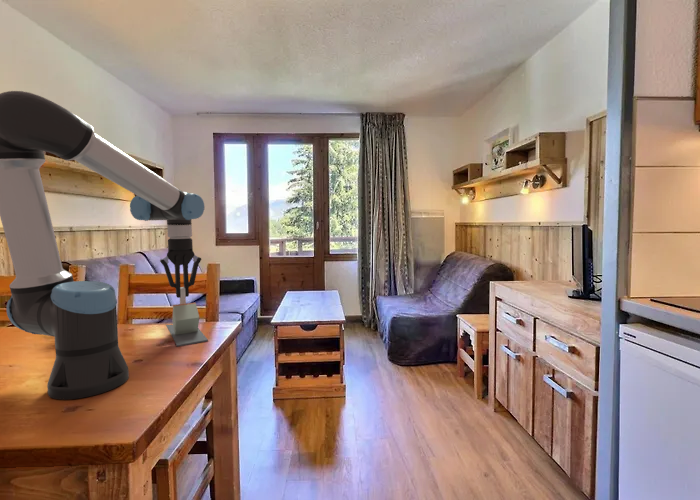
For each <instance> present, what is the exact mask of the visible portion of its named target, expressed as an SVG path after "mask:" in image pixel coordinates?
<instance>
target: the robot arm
mask: <svg viewBox="0 0 700 500" xmlns="http://www.w3.org/2000/svg"><path fill="white" fill-rule="evenodd" d="M45 152H47V153H50V154H53V155H55V156H57V157H58V158H60V159H62V160H64V161H68V162H69V161H76V162H77V163H78V164H81V165H82V166H84V167H86V168H88V169H89V170H91V171H93V172H94V173H97V174H98V175H100V176H102V177H103V178H105V179H107V180H108V181H110V182H112V183H113V184H114V183H115V184H116V185H117V186H120V187H121V188H123V189H125V190H127V191H129V192H130V193H132V194H133V195H135V196H134V197H133V198H132V199H131V200H130V202H129V203H130V204H129V211H130V214H131V215H132V217H133V218H134V219H135V220H138V221H145V222H146V221H147V222H148V221H166V227H167V237H168V239H167V249H168V250H167V253H166V256H165V257H164V258H161V259H159V263H160V264H162V266H163V269H164V272H165V274H166V278H167V282H168V284H169V286H170V287H171V288H175V294H176V295H175V296H176V299H178V298H179V304H187V301H186V299H187V298H188V297H189V296H190V294H189V293H190V291H189V290H190V289H189V287H191V286H194V285H195V282H196V277H197V273H198V269H199V264H200V263H201V261H202V257H200V256H198V255H195V252H194V249H193V239H192V238H191V237H192V236H193V226H192V220H196V219H199V218H201V217H202V216H203V214H204V212H205V207H206V206H205V201H204V199H203V198H202V197H201V195H199V194H197V193H192V192H187V191H183V190H181V189H179V188H178V187H176V186H175V185H174V184H172V183H170V182H169V181H167V180H166V179H165V178H163V177H162V176H160V175H158V174H157V173H155V172H154V171H152V170H151V169H149V168H148V167H146V166H145V165H143V164H142V163H140V162H139V161H137V160H136V159H134V158H133V157H131V156H130V155H129V154H127V153H125V152H123V151H122V150H121V149H119V148H118V147H116V146H114V144H112V143H110V142H109V141H107V140H106V139H104V138H102V137H101V136H100V135H98V134H97V133H95V130H94V127H93V125H91V124H90V123H89V122H87V121H86V120H84V119H82V117H80V116H78V115H76V114H75V113H73V112H72V111H70V110H68V109H66V108H65V107H62V105H60V104H59V103H58V104H57V103H56V102H54V101H52V100H50V99H48V98H45V97H43V96H41V95H39V94H35V93H32V92H30V91H29V92H28V91H22V90H9V91H3V92H1V93H0V221H1V225H2V229H3V233H4V236H5V239H6V243H7V247H8V251H9V254H10V259H11V262H12V266H13V270H14V274H15V278H14V280H13V281H12V282H11V283H10V284H9V290H10V294H11V296H10V298H9V299H8V300H7V302H6V309H5V310H6V315H7V318H8V320H9V321H10V322H11V324H12V325H14V326H15V327H16V328H18V329H19V330H22V331H24V332H26V333H28V334H29V333H30V334H32V335H42V336H43V335H44V336H49V337H54V347H55V360H54V363H53V366H52V369H51V372H50V375H49V378H48V381H47V386H46V387H47V396H48V397H49V398H50V399H51V398H52V399H54V400H76V399H82V398H83V399H84V398H88V397H93V396H95V395H100V394H103V393H107V392H109V391H111V390H114V389H116V388H118V387H120V386H122V385H124V384H125V383H126V382H127V381H128V380H129V378H130V374H129V373H130V371H129V366H128V365H127V361H126V360H125V358H124V356H123V353H122V351H121V349H120V346H119V333H118V314H117V303H118V300H117V296H116V291H115V287H114V286H112V285H111V284H109V283H107V282H102V281H93V280H92V281H89V280H80V281H79V280H76V281H75V280H74V276H73V274H72V273H71V272H70V271H67V270H66V269H64V268H63V264H62V261H61V256H60V252H59V248H58V243H57V239H56V235H55V231H54V230H55V229H54V225H53V223H52V221H53V220H52V218H51V214H50V210H49V209H50V208H49V205H48V201H47V197H46V193H45V188H44V184H43V180H42V177H41V173H40V172H41V171H40V168H41V167H42V165H44V164H45V163H46V157H45ZM192 260H193V264H192V269H191V274H190V277H189V264H190V263H191V261H192ZM169 261H170V262H171V263H172V265H174V278H175V280H174V279H173V276H172V272H171V269H170V267H169V266H170V265H168V264H169ZM181 266H182V274H183V275H182V277H183V286H181ZM189 278H190V279H189ZM174 281H175V282H174ZM186 297H187V298H186Z"/></svg>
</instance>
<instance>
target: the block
mask: <svg viewBox="0 0 700 500" xmlns="http://www.w3.org/2000/svg"><path fill="white" fill-rule="evenodd" d="M171 321H172V324H173V326H174V332H175V335H179V334H185V333H192V332H198V328H199V322H200V314H199V310H198V307H197V302H186V304H180V303H179V304H178V303H177V304H173V305H172V318H171Z"/></svg>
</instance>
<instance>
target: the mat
mask: <svg viewBox="0 0 700 500" xmlns="http://www.w3.org/2000/svg"><path fill="white" fill-rule="evenodd" d="M165 326H166V328H167V329H168V332H169V334H170V336H171V337H172V339H173V341H174V343H175V345H176V347H177V348H178V347H182V346H183V347H184V346H188V345H189V346H190V345H194V344H200V343H201V344H202V343H205V342H209V338H207V337H206V335H205V334H204V333H203V332H202V331H201V329H200V328H199V327H198V332H192V333H185V334H179V335H175V332H174V326H173V325H166V324H165Z"/></svg>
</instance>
